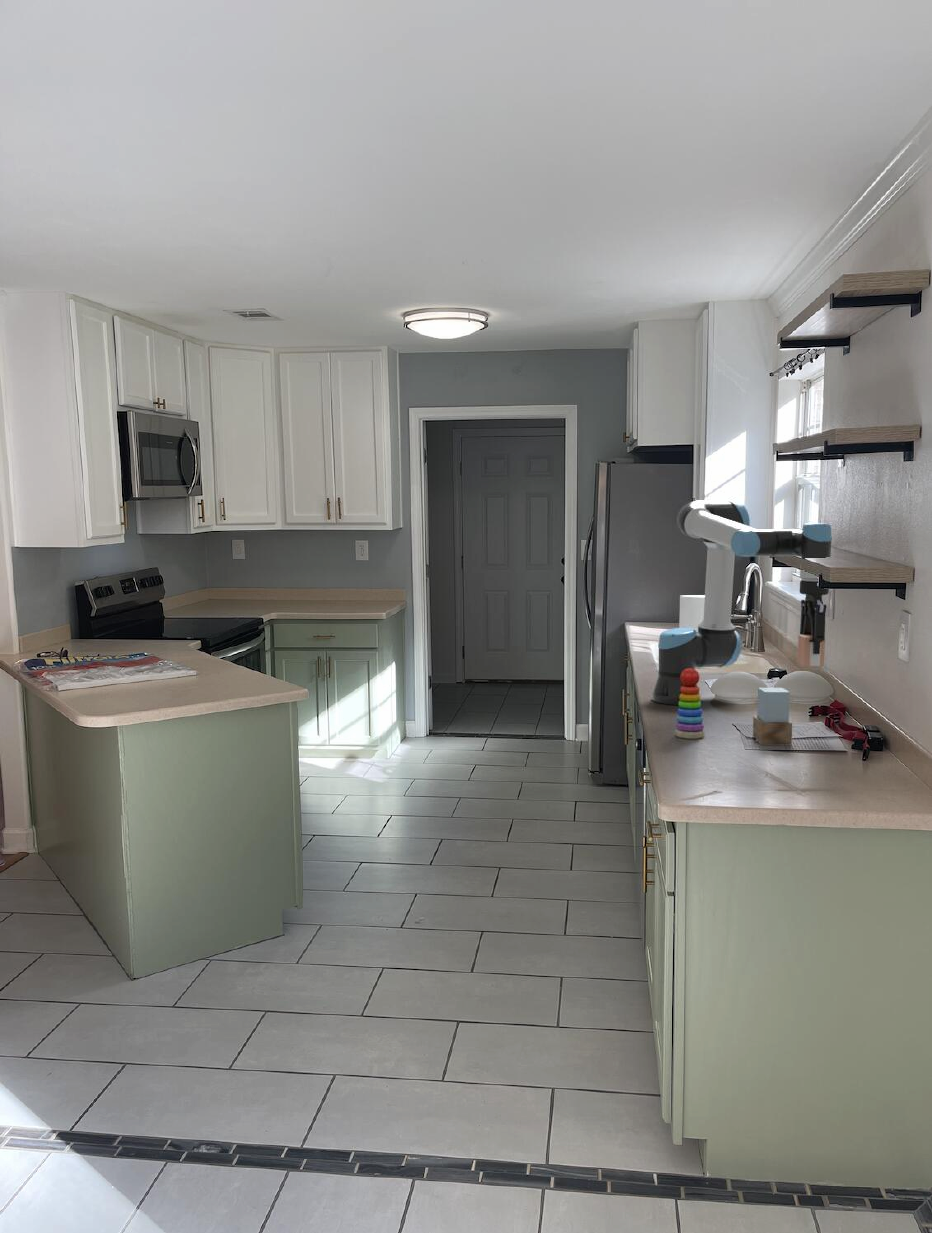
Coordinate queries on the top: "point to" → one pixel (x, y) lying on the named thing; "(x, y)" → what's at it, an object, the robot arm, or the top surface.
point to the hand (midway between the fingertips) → (810, 663)
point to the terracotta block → (808, 651)
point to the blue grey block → (773, 704)
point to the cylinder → (691, 612)
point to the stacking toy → (689, 707)
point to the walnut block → (772, 732)
